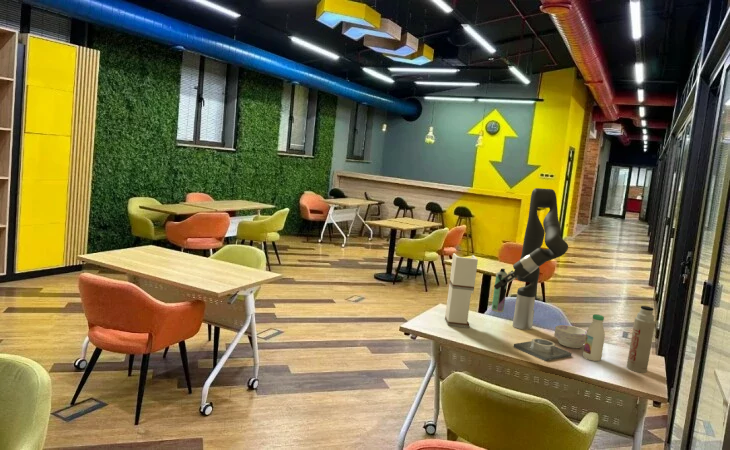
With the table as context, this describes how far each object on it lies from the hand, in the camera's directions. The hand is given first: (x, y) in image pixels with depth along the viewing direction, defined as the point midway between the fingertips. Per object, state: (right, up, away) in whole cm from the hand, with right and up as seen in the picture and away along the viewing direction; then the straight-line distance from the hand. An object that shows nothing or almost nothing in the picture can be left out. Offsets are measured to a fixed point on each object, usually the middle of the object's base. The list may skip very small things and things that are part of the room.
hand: (496, 286), depth 256 cm
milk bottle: (+41, -32, -7) cm, 53 cm away
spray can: (0, -11, +1) cm, 12 cm away
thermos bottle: (+57, -35, -15) cm, 69 cm away
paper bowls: (+37, -29, +10) cm, 49 cm away
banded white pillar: (-14, -22, +26) cm, 37 cm away
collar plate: (+19, -29, -5) cm, 35 cm away
